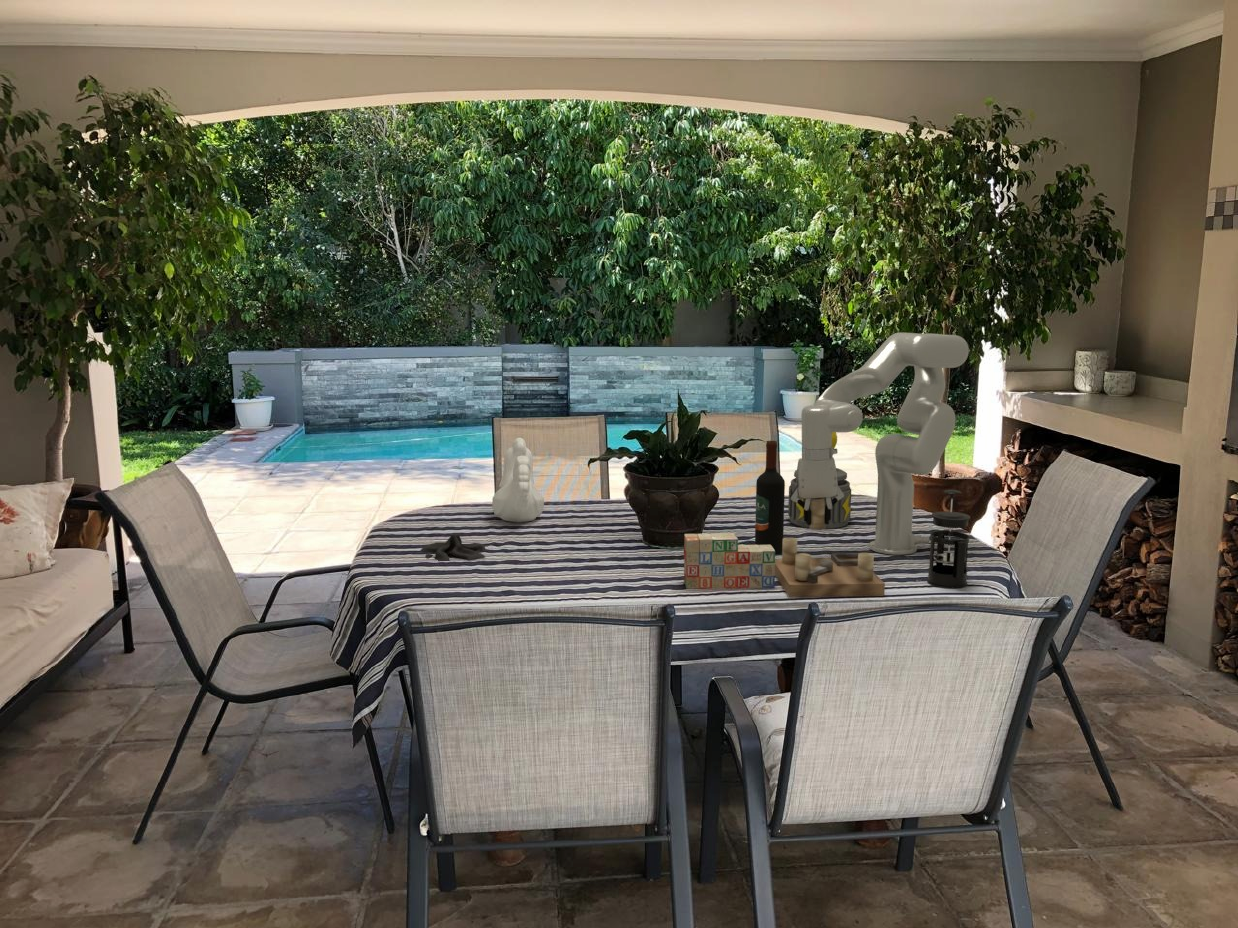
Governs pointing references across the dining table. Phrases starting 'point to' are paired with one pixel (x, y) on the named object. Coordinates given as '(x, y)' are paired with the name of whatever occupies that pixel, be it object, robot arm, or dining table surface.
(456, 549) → the cloth
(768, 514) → the wine bottle
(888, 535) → the robot arm
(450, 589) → the dining table surface
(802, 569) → the hinged leg
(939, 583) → the french press
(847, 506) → the decorative lamp
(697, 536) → the stack of blocks
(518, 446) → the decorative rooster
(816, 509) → the loose leg
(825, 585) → the wooden peg board
